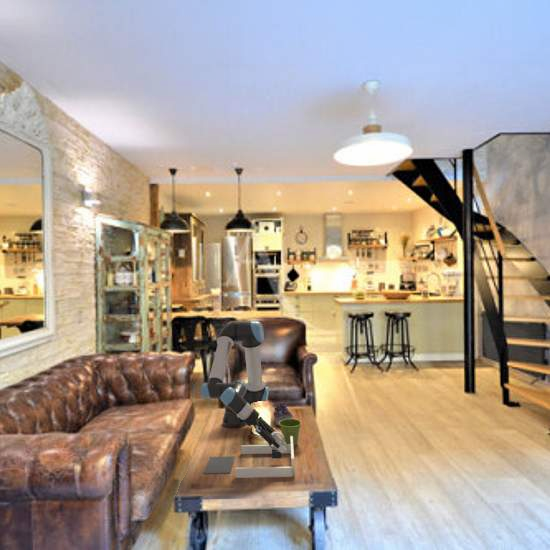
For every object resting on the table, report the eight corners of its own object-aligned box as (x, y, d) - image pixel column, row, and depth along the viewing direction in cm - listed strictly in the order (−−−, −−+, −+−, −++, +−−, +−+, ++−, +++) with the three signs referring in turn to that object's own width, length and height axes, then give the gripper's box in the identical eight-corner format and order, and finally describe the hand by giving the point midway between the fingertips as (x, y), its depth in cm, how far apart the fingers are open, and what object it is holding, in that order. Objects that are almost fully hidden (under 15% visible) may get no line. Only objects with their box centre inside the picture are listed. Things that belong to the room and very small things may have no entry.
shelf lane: (241, 453, 202) (240, 437, 202) (293, 452, 201) (292, 436, 201) (235, 477, 177) (235, 459, 177) (294, 476, 177) (294, 458, 177)
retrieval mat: (210, 457, 198) (210, 456, 198) (234, 457, 198) (234, 456, 198) (203, 473, 182) (203, 472, 182) (230, 473, 182) (230, 472, 182)
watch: (267, 453, 192) (267, 430, 192) (284, 452, 192) (284, 429, 192) (267, 458, 186) (267, 435, 186) (285, 458, 186) (284, 434, 186)
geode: (269, 416, 254) (271, 400, 254) (287, 417, 255) (288, 401, 256) (274, 427, 233) (275, 409, 234) (293, 428, 235) (295, 410, 236)
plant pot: (302, 448, 205) (302, 426, 205) (279, 449, 205) (279, 427, 205) (301, 438, 217) (300, 418, 217) (279, 439, 217) (278, 418, 217)
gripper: (244, 413, 198) (278, 445, 198) (240, 428, 180) (278, 463, 180) (255, 402, 198) (289, 434, 198) (252, 416, 180) (290, 451, 180)
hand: (284, 448), depth 189 cm, fingers closed on watch, 5 cm apart
